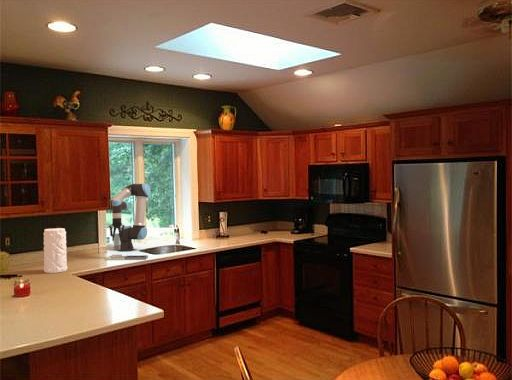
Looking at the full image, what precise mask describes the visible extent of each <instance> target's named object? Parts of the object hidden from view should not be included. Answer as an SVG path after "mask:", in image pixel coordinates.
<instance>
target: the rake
mask: <svg viewBox="0 0 512 380" xmlns="http://www.w3.org/2000/svg"><path fill="white" fill-rule="evenodd" d="M114 235H115V245H114V244H113V245H114V247H113V250H114V251H117V250H120V245H119V237H120V236H119V233H115V234H114Z"/></svg>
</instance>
